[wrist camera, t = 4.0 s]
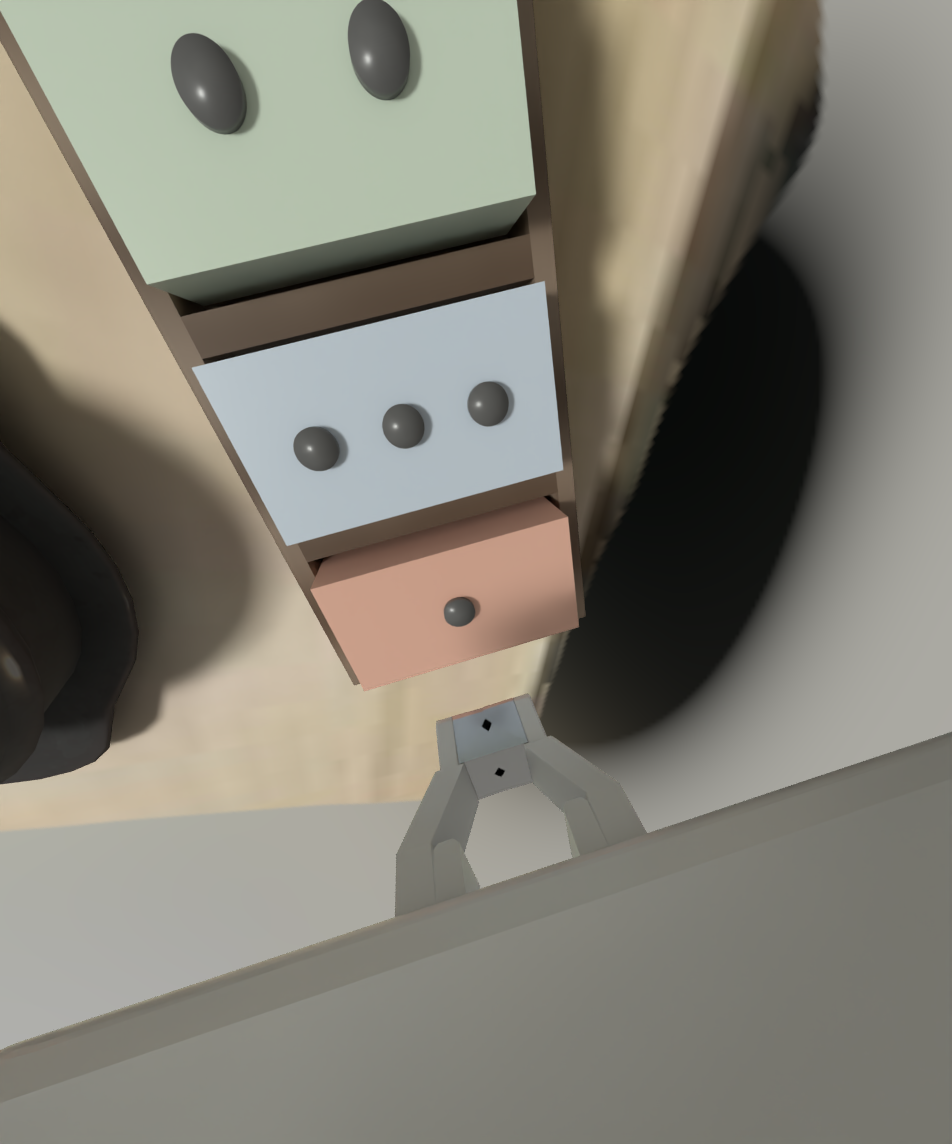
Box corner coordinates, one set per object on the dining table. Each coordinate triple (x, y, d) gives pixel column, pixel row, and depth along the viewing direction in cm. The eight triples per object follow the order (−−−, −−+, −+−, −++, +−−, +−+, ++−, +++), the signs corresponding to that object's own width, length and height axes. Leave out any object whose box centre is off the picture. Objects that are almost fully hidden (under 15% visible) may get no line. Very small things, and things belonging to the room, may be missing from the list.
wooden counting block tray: (59, 40, 11) (-72, -90, 8) (485, -42, 12) (516, -191, 9) (360, 644, 23) (354, 685, 20) (561, 585, 24) (585, 616, 21)
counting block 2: (235, 370, 14) (185, 367, 10) (515, 300, 14) (547, 279, 11) (306, 517, 17) (284, 549, 13) (536, 454, 17) (566, 471, 14)
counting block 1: (73, 35, 10) (-83, -130, 7) (469, -42, 10) (499, -226, 7) (204, 306, 13) (140, 281, 10) (506, 234, 13) (539, 189, 10)
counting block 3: (324, 555, 18) (308, 593, 14) (541, 495, 18) (570, 519, 15) (369, 647, 21) (363, 695, 17) (554, 593, 21) (581, 630, 18)
